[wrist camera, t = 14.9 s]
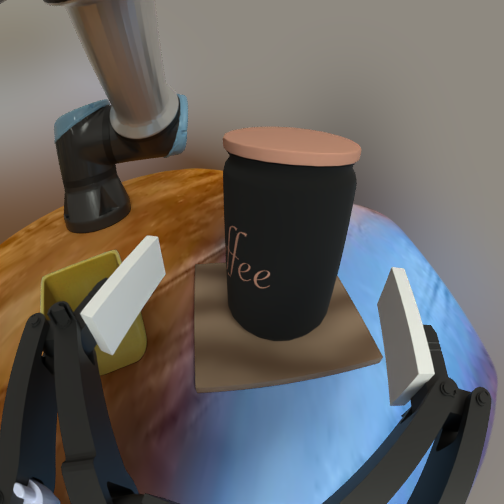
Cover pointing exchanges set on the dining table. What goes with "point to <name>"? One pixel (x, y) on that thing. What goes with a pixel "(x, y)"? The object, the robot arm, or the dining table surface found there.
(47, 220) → the dining table surface
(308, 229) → the coffee jar
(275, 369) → the walnut board
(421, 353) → the robot arm
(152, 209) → the dining table surface
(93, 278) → the flower pot
